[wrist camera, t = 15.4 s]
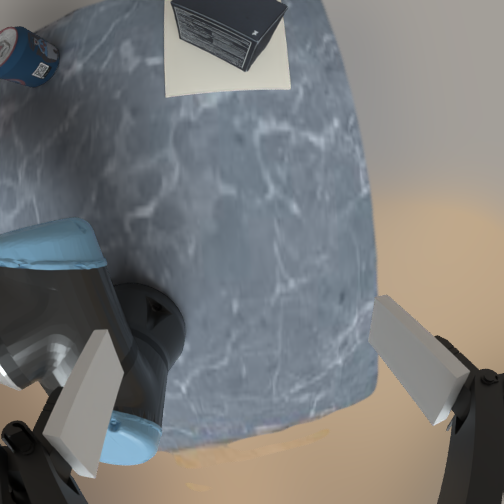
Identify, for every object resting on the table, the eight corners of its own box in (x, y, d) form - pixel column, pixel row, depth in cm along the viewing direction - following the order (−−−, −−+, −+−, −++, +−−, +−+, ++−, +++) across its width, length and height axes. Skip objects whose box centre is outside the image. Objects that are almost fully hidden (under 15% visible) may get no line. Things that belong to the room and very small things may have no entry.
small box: (272, 39, 31) (292, 5, 21) (246, 74, 32) (259, 45, 22) (205, 6, 28) (205, -35, 18) (177, 39, 29) (167, 3, 19)
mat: (166, 97, 32) (165, 96, 32) (165, 0, 27) (164, -1, 26) (289, 89, 34) (290, 88, 33) (279, -5, 29) (280, -7, 28)
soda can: (20, 76, 26) (-26, 62, 15) (48, 40, 25) (7, 15, 14) (41, 96, 29) (-7, 84, 17) (71, 58, 28) (29, 33, 16)
